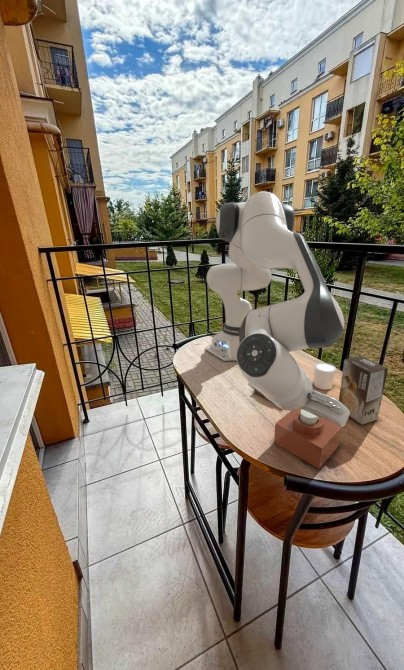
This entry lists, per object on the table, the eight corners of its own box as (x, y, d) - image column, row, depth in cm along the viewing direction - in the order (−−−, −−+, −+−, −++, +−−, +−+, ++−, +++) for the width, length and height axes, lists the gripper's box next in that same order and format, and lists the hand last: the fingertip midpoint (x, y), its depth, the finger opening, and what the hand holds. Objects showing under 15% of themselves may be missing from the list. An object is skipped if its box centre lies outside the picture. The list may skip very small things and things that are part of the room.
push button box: (273, 442, 72) (275, 416, 69) (294, 424, 78) (296, 400, 75) (319, 469, 63) (323, 441, 61) (338, 446, 70) (342, 420, 67)
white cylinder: (335, 391, 92) (338, 372, 90) (313, 389, 94) (316, 371, 91) (331, 380, 99) (333, 363, 96) (310, 379, 100) (312, 362, 98)
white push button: (296, 419, 68) (297, 412, 67) (305, 412, 71) (305, 405, 70) (312, 427, 65) (313, 420, 65) (320, 419, 68) (321, 412, 67)
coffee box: (379, 419, 78) (390, 368, 73) (361, 425, 76) (371, 373, 71) (352, 402, 86) (361, 355, 81) (336, 406, 85) (343, 359, 79)
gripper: (347, 392, 50) (360, 413, 59) (254, 358, 64) (276, 380, 73) (333, 424, 48) (348, 441, 58) (241, 382, 63) (265, 401, 72)
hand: (307, 406), depth 66 cm, fingers closed
